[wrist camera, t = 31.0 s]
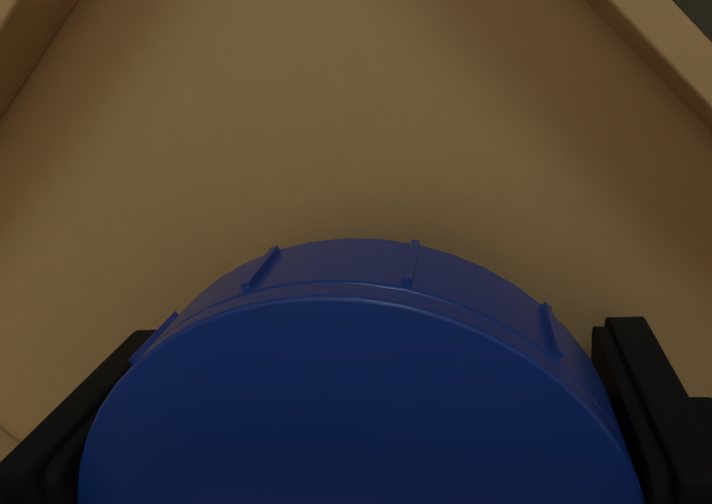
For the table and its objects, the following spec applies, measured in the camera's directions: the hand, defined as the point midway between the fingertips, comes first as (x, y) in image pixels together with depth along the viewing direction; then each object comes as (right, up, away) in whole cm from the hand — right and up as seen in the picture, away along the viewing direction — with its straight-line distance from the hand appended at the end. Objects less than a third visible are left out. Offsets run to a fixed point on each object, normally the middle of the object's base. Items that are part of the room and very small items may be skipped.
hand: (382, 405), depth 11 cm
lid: (0, -1, -3) cm, 3 cm away
